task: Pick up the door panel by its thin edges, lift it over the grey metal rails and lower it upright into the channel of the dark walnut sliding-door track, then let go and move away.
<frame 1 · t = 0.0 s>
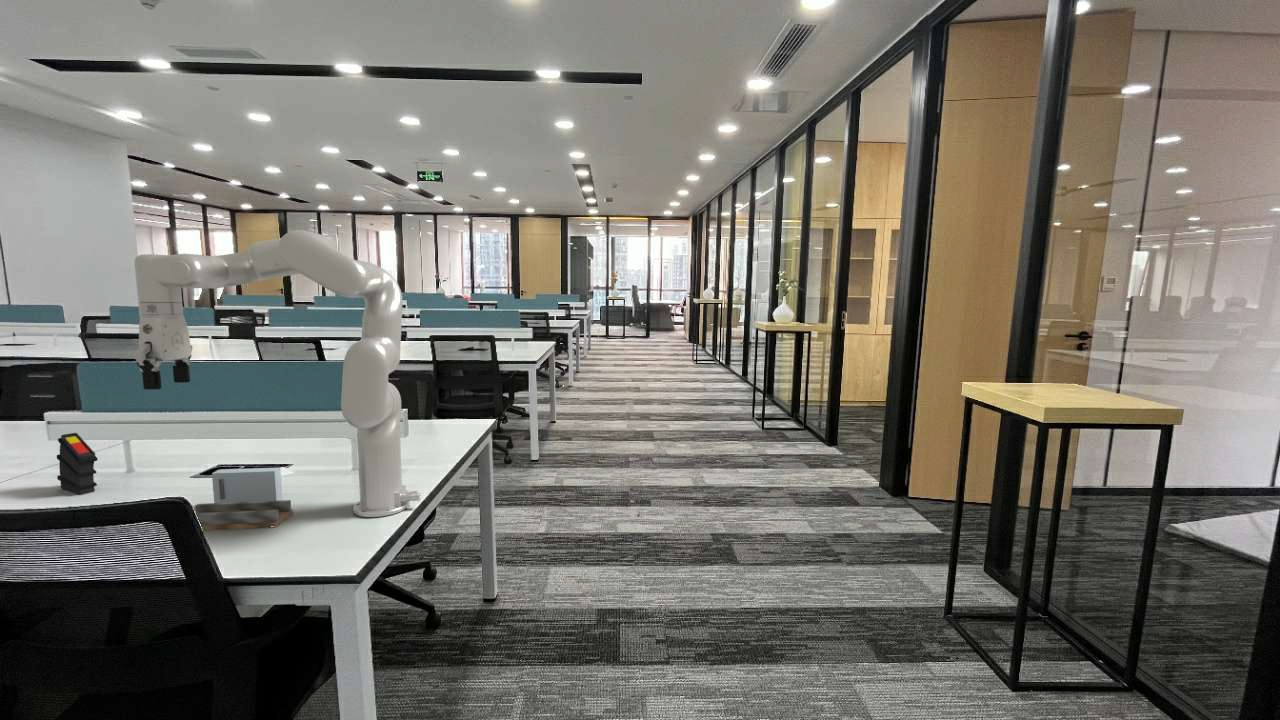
hand: (168, 385, 127), 31 cm above the table, tool pointing down, fingers open, 9 cm apart
door panel: (249, 505, 139), on the table
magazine: (80, 491, 147), on the table
track base: (237, 522, 128), on the table
external hard drive: (264, 480, 159), on the table
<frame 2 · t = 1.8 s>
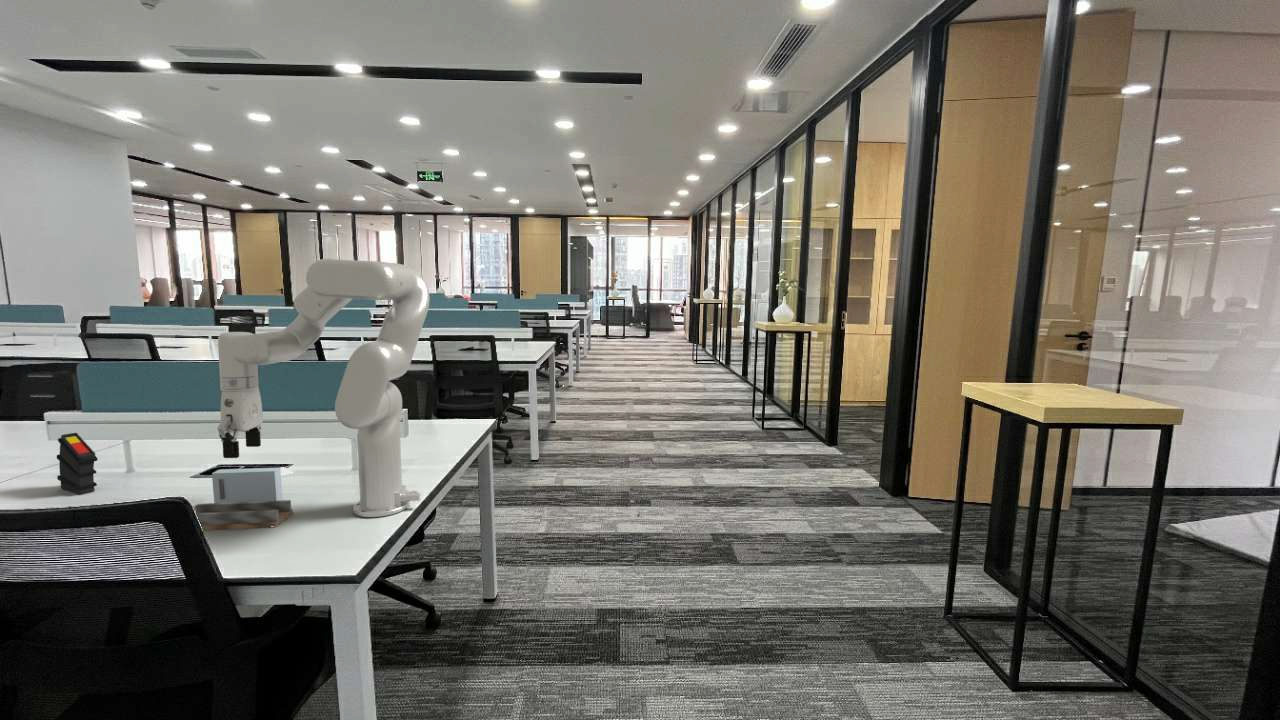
hand: (242, 451, 137), 14 cm above the table, tool pointing down, fingers open, 9 cm apart
nothing on the table moved.
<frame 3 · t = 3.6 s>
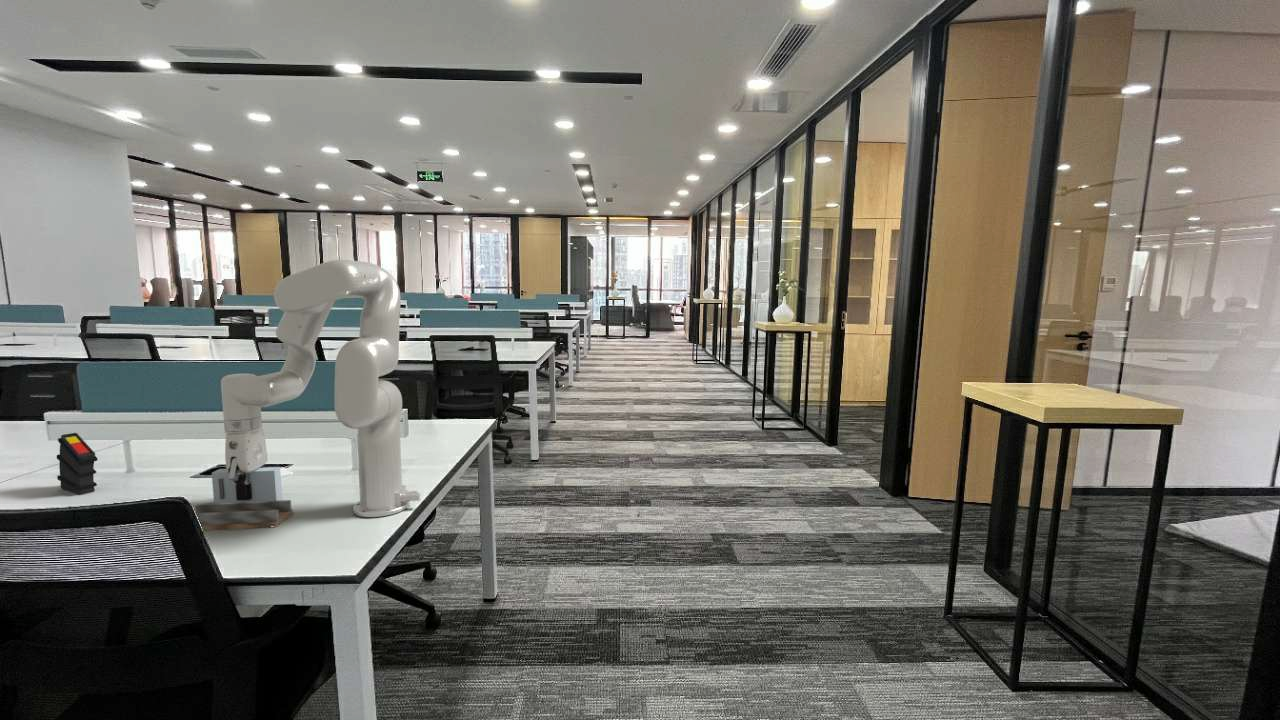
hand: (248, 496, 138), 2 cm above the table, tool pointing down, fingers closed on door panel, 3 cm apart
door panel: (249, 505, 139), on the table, touching gripper
everything else where it was.
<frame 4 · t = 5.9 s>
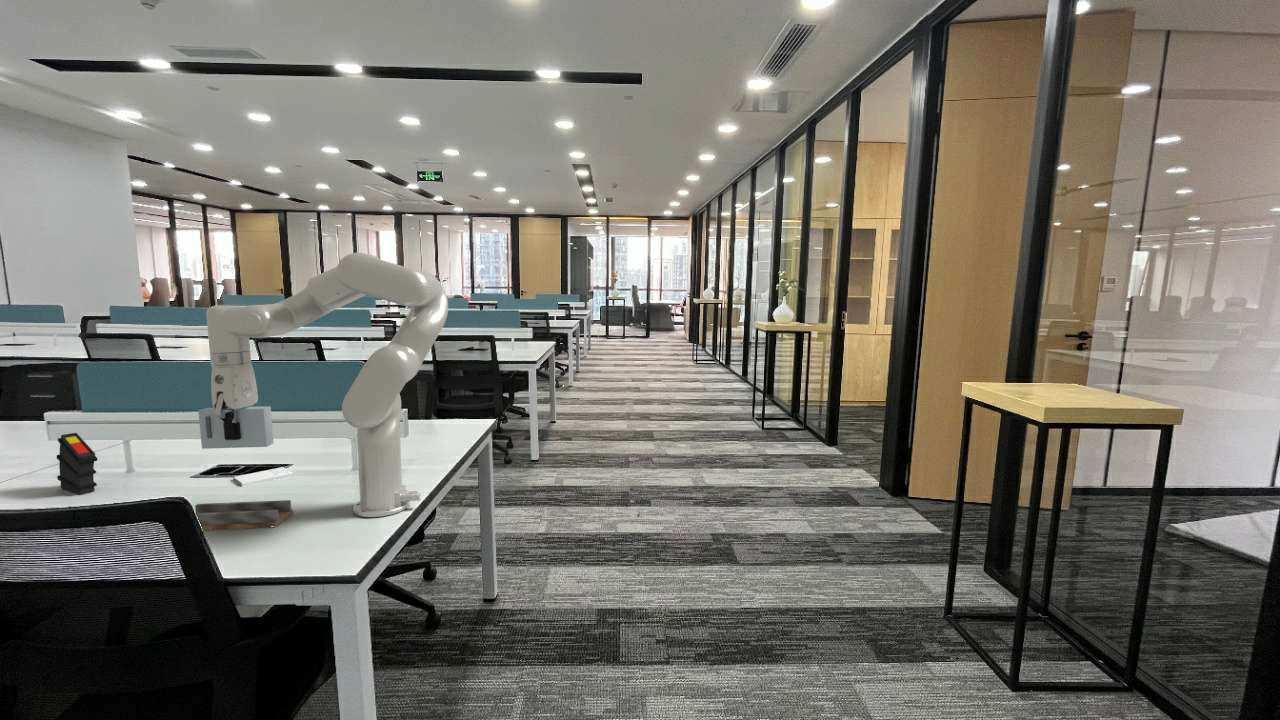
hand: (237, 436, 131), 19 cm above the table, tool pointing down, fingers closed on door panel, 3 cm apart
door panel: (238, 446, 131), point 17 cm above the table, touching gripper
everything else where it was.
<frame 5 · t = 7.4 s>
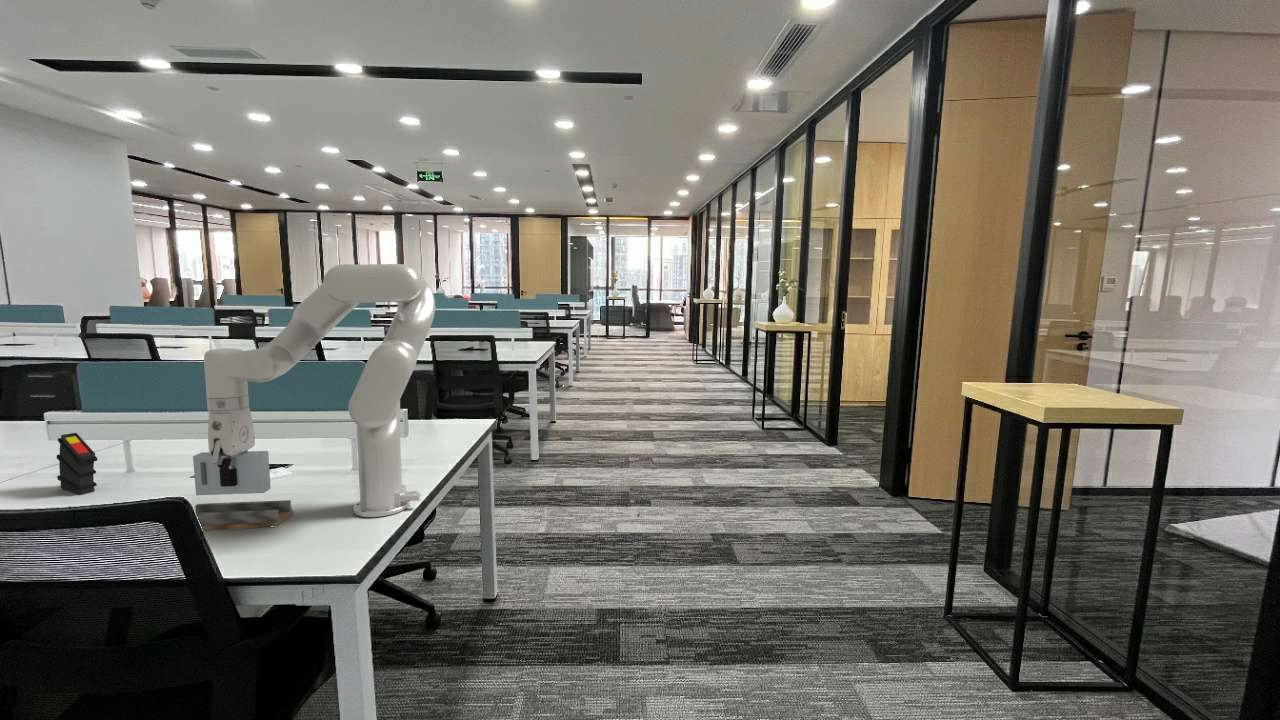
hand: (233, 482, 127), 9 cm above the table, tool pointing down, fingers closed on door panel, 3 cm apart
door panel: (234, 491, 127), point 7 cm above the table, touching gripper
everything else where it was.
when the fingers open (5 cm above the table, at t = 8.6 s): door panel drops 2 cm, resting on track base.
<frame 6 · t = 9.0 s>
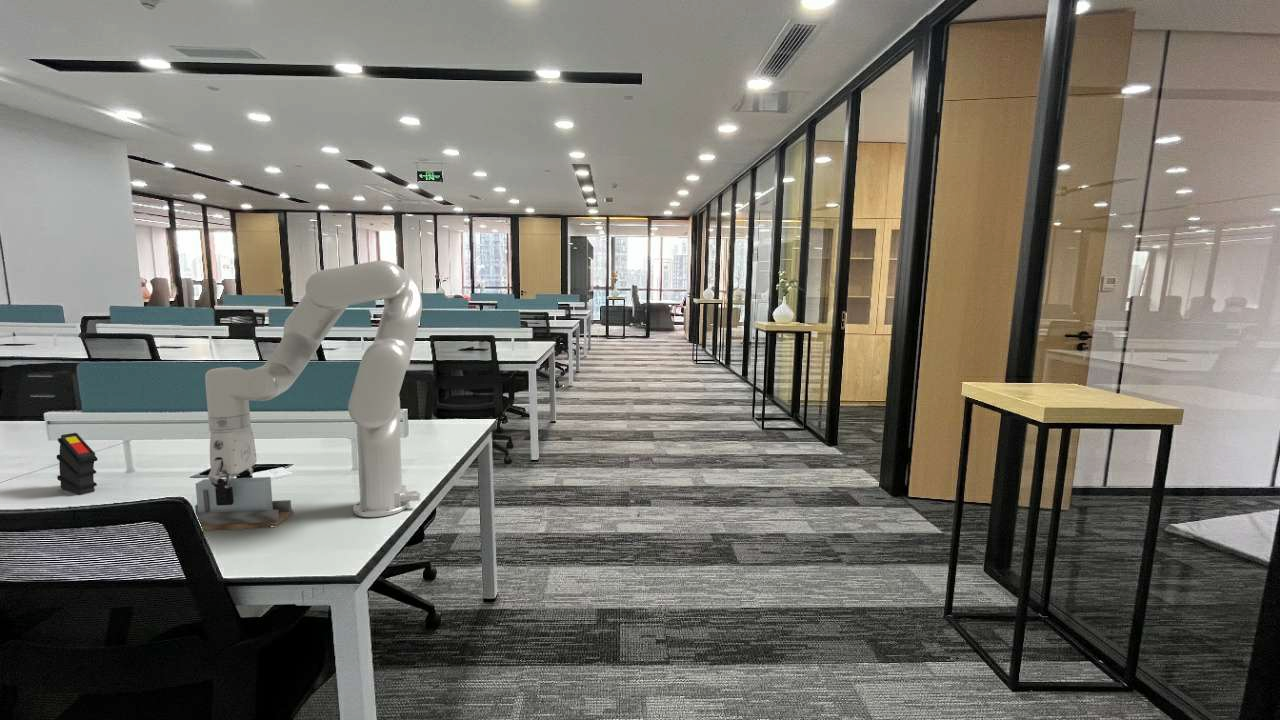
hand: (235, 497, 128), 6 cm above the table, tool pointing down, fingers open, 7 cm apart
door panel: (236, 518, 128), point 1 cm above the table, touching track base
everything else where it was.
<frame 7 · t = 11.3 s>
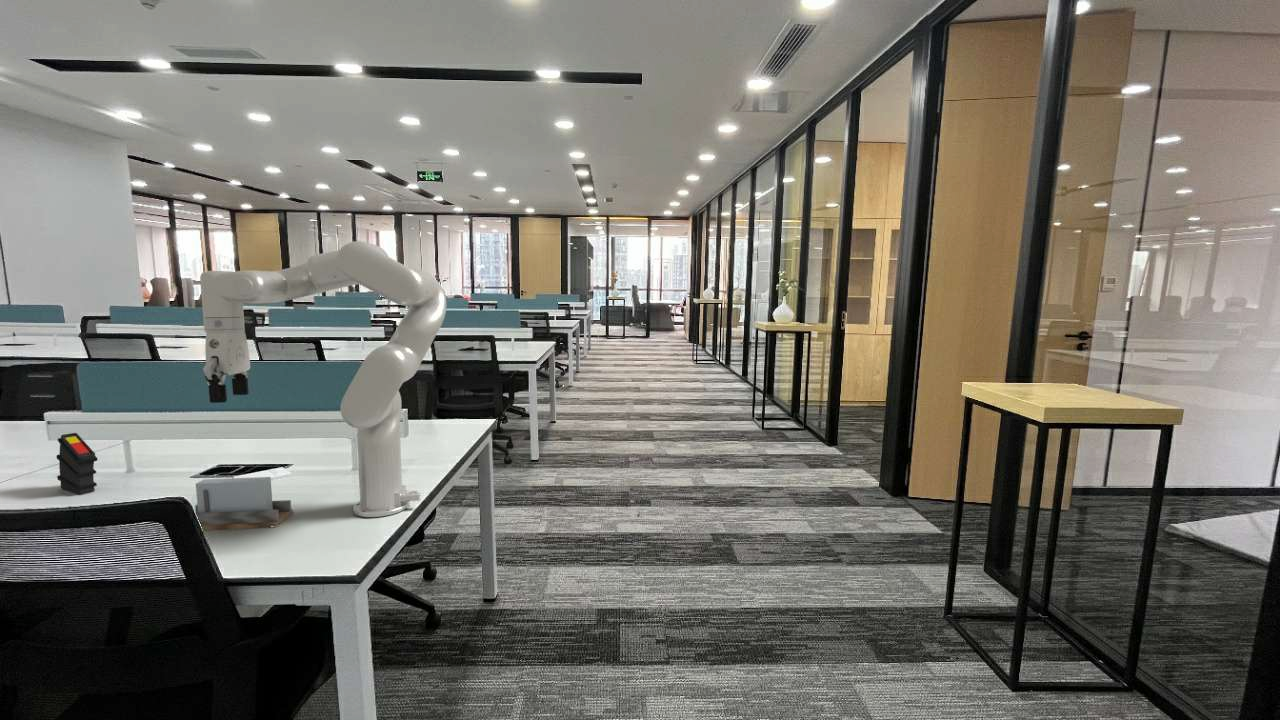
hand: (230, 398, 131), 28 cm above the table, tool pointing down, fingers open, 9 cm apart
nothing on the table moved.
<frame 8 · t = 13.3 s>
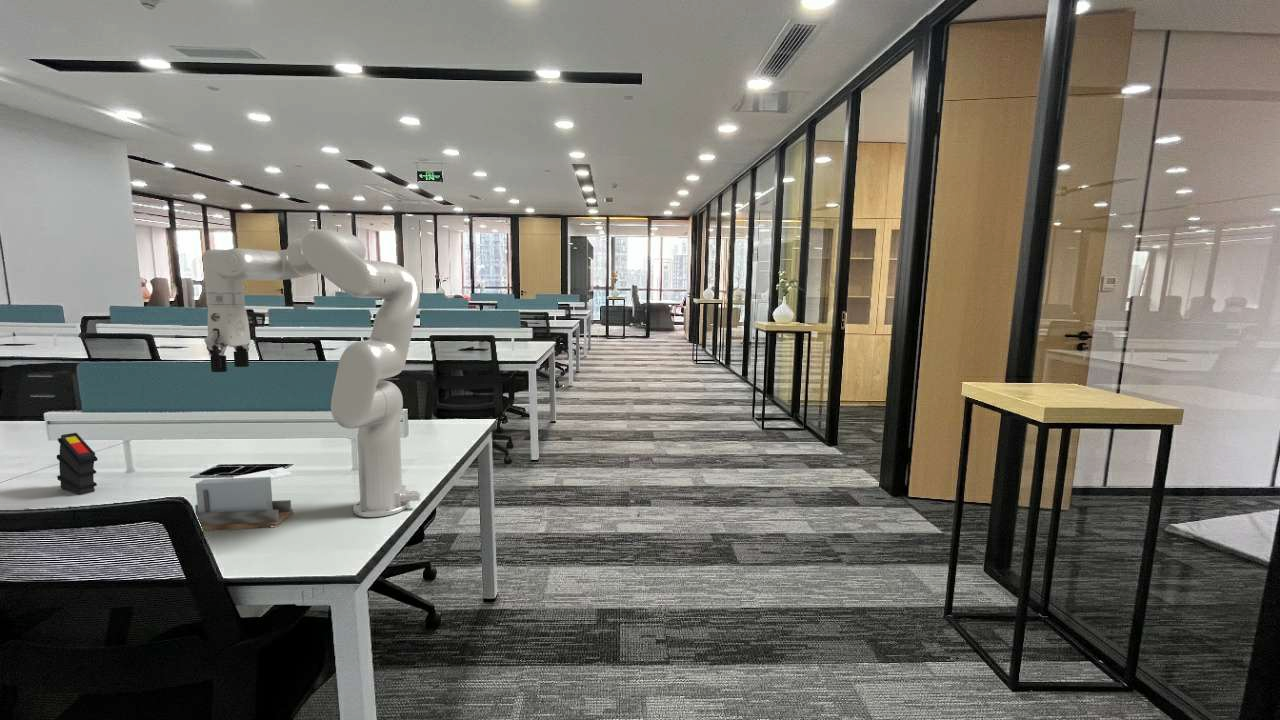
hand: (231, 369, 140), 33 cm above the table, tool pointing down, fingers open, 9 cm apart
nothing on the table moved.
at the end: door panel inside the target area on the track base (0.1 cm from its centre), point 1.0 cm above the track base's base; door panel tilted 0°; the gripper is holding nothing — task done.
